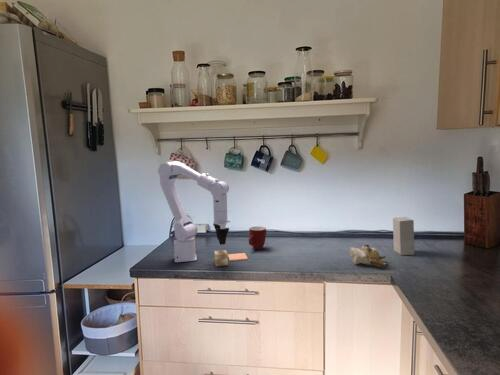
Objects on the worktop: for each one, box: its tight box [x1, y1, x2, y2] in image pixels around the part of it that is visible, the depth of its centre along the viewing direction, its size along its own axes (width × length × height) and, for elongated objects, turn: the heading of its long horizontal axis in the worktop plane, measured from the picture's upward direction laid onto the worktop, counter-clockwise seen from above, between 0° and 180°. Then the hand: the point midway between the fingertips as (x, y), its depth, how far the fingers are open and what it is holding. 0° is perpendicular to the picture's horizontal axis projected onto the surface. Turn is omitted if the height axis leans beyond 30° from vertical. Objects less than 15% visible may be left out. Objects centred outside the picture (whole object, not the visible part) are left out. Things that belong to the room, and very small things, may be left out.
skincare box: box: [392, 216, 415, 256], centre depth 162 cm, size 8×7×16 cm
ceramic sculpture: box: [349, 244, 389, 268], centre depth 148 cm, size 11×9×15 cm
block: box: [214, 250, 229, 267], centre depth 152 cm, size 5×5×5 cm
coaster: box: [227, 252, 249, 262], centre depth 160 cm, size 8×8×1 cm
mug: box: [248, 226, 267, 251], centre depth 171 cm, size 10×8×10 cm
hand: (221, 241), depth 152 cm, fingers open, 7 cm apart
